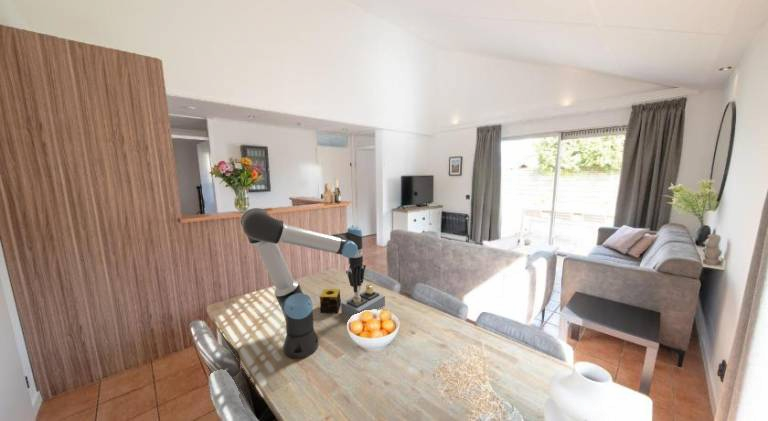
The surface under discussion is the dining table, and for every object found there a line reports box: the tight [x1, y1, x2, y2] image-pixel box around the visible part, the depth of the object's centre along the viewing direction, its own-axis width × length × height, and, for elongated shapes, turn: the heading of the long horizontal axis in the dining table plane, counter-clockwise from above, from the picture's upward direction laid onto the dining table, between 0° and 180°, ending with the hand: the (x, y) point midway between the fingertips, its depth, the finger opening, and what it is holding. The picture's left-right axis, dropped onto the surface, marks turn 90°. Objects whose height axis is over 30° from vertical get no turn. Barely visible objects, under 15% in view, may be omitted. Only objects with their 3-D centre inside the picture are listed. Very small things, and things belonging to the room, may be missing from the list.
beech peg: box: [352, 295, 361, 304], centre depth 151 cm, size 4×4×7 cm
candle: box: [319, 288, 342, 314], centre depth 156 cm, size 10×10×10 cm
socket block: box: [340, 289, 386, 318], centre depth 155 cm, size 21×14×7 cm, turn 140°
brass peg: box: [365, 284, 374, 297], centre depth 158 cm, size 4×4×7 cm
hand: (357, 296), depth 151 cm, fingers closed
